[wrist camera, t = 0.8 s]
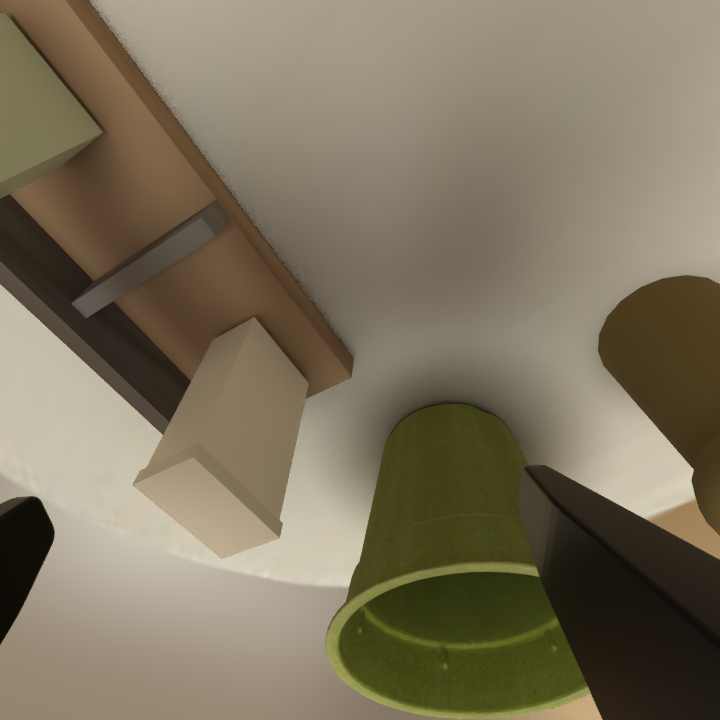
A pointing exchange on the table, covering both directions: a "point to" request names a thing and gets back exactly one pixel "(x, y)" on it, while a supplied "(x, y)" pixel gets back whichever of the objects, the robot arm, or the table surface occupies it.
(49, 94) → the pale green tall block
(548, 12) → the table surface
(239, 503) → the beige rectangular block
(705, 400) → the cork
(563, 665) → the plant pot
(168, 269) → the brown wooden rack
